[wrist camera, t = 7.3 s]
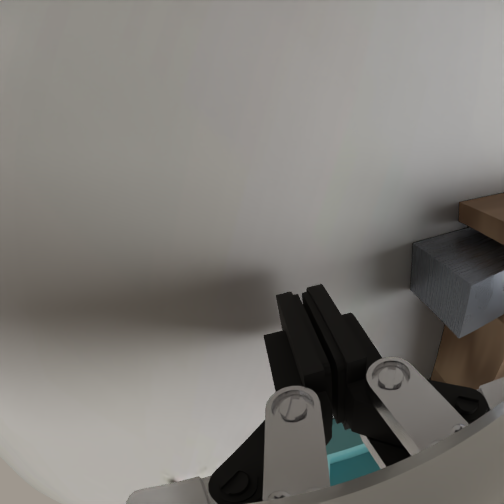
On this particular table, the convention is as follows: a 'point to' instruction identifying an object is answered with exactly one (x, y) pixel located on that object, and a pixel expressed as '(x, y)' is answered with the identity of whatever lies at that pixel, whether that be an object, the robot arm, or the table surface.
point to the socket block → (488, 336)
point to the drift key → (460, 278)
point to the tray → (348, 456)
